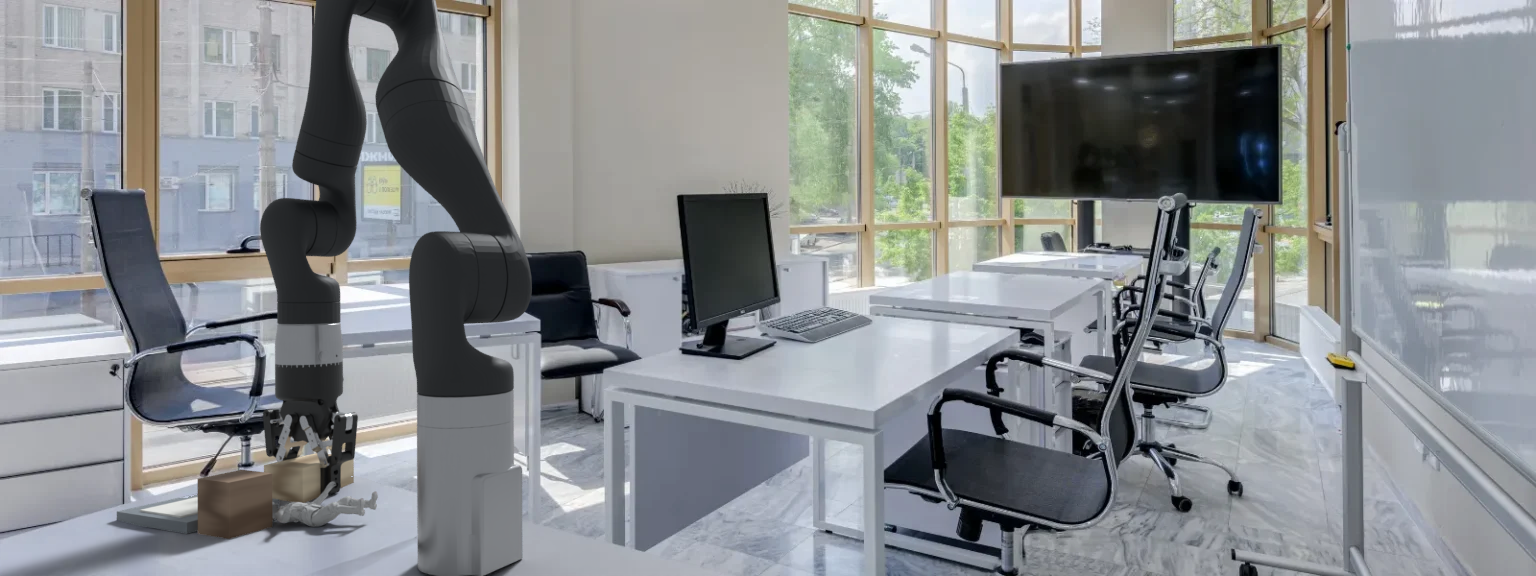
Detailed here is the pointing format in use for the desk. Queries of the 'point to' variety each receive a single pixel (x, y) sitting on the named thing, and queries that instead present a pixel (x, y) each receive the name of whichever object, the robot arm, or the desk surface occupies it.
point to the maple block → (302, 478)
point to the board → (167, 515)
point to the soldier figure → (322, 509)
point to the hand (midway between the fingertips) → (309, 493)
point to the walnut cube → (234, 503)
